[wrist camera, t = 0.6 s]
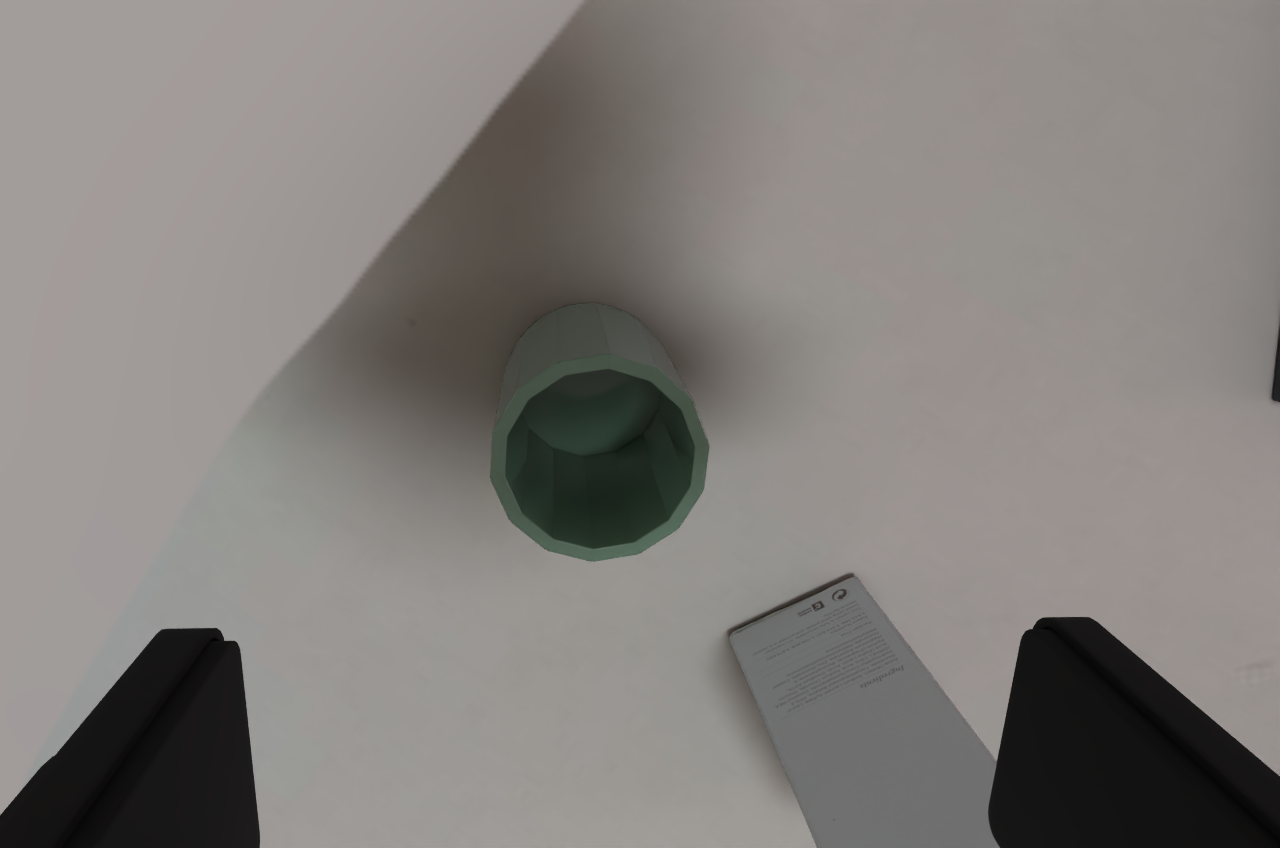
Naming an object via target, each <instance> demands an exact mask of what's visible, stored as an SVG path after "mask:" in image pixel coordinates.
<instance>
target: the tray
mask: <svg viewBox="0 0 1280 848" xmlns="http://www.w3.org/2000/svg"><path fill="white" fill-rule="evenodd" d="M1273 400H1275V401H1278V402H1280V342H1279V351H1278V359H1277V368H1276V377H1275V386H1274V395H1273Z"/></svg>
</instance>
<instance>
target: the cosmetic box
mask: <svg viewBox="0 0 1280 848" xmlns="http://www.w3.org/2000/svg"><path fill="white" fill-rule="evenodd" d="M729 639H730V642H731V645H732V647H733V649H734V652H735V654H736V656H737V659H738V661H739V663H740V666H741V668H742V670H743V673H744V675H745V678H746V680H747V682H748V685H749V687H750V689H751V691H752V694H753V696H754V698H755V701H756V703H757V705H758V707H759V710H760V712H761V715H762V717H763V720H764V722H765V725H766V727H767V730H768V732H769V735H770V737H771V740H772V742H773V744H774V747H775V749H776V751H777V754H778V756H779V759H780V761H781V763H782V766H783V768H784V770H785V773H786V775H787V777H788V780H789V782H790V784H791V787H792V789H793V791H794V794H795V796H796V798H797V801H798V803H799V806H800V808H801V810H802V813H803V815H804V817H805V820H806V822H807V825H808V827H809V829H810V832H811V834H812V837H813V839H814V841H815V844H816V846H817V848H1000V847H999V846H998V844H997V842H996V841H995V839H994V837H993V835H992V832H991V829H990V824H989V819H988V806H989V800H990V795H991V790H992V785H993V780H994V775H995V770H996V765H997V761H996V760H995V758H994V757H993V756H992V754H991V753H990V752H989V750H988V749H987V748H986V746H985V745H984V744H983V742H982V741H981V740H980V738H979V737H978V736H977V734H976V733H975V732H974V730H973V729H972V728H971V726H970V725H969V724H968V723H967V721H966V720H965V719H964V717H963V716H962V715H961V713H960V712H959V711H958V709H957V708H956V707H955V705H954V704H953V703H952V701H951V700H950V699H949V697H948V696H947V695H946V693H945V692H944V691H943V689H942V688H941V687H940V685H939V684H938V683H937V681H936V680H935V679H934V677H933V676H932V675H931V673H930V672H929V671H928V669H927V668H926V667H925V666H924V664H923V663H922V662H921V660H920V659H919V658H918V656H917V655H916V654H915V652H914V651H913V650H912V649H911V647H910V646H909V645H908V643H907V642H906V641H905V640H904V638H903V637H902V636H901V634H900V633H899V632H898V630H897V629H896V628H895V626H894V625H893V624H892V622H891V621H890V620H889V619H888V617H887V616H886V615H885V613H884V612H883V611H882V609H881V608H880V607H879V605H878V604H877V603H876V601H875V600H874V599H873V598H872V596H871V595H870V594H869V592H868V591H867V590H866V588H865V587H864V586H863V584H862V583H861V582H860V580H859V579H858V578H857V577H851V578H849V579H846V580H844V581H842V582H840V583H837V584H835V585H833V586H831V587H829V588H827V589H826V590H824V591H822V592H820V593H818V594H816V595H813V596H811V597H809V598H807V599H804V600H802V601H800V602H798V603H796V604H793V605H791V606H789V607H787V608H784V609H782V610H779V611H777V612H774V613H772V614H770V615H768V616H766V617H764V618H762V619H759V620H758V621H756V622H753V623H751V624H749V625H747V626H745V627H742V628H740V629H738V630H736V631H734V632H732V634H731V635H730V638H729Z"/></svg>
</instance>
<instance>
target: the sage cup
mask: <svg viewBox="0 0 1280 848" xmlns="http://www.w3.org/2000/svg"><path fill="white" fill-rule="evenodd" d="M708 453H709V442H708V439H707V436H706V433H705V431H704V428H703V425H702V422H701V420H700V417H699V414H698V411H697V409H696V406H695V403H694V401H693V399H692V398H691V396H690V394H689V392H688V390H687V389H686V387H685V385H684V383H683V381H682V380H681V378H680V376H679V374H678V372H677V371H676V369H675V367H674V365H673V363H672V362H671V360H670V358H669V356H668V354H667V353H666V351H665V349H664V347H663V345H662V344H661V342H660V340H659V339H658V338H657V337H656V336H655V335H654V334H653V333H652V332H651V331H650V330H649V329H648V328H647V327H646V326H645V325H644V324H643V323H642V322H641V321H639V320H638V319H637V318H635V317H634V316H632V315H631V314H629V313H627V312H625V311H623V310H621V309H618V308H615V307H612V306H609V305H603V304H597V303H581V304H574V305H569V306H565V307H562V308H559V309H556V310H554V311H552V312H550V313H548V314H546V315H544V316H543V317H542V318H540V319H539V320H537V321H536V322H535V323H534V324H533V325H531V326H530V327H529V328H528V329H527V330H526V332H524V334H523V335H522V336H521V338H520V339H519V341H518V343H517V344H516V346H515V348H514V350H513V352H512V355H511V357H510V358H509V360H508V362H507V365H506V369H505V374H504V379H503V384H502V389H501V393H500V398H499V403H498V408H497V413H496V417H495V422H494V427H493V432H492V447H491V470H490V478H491V482H492V484H493V486H494V489H495V491H496V493H497V495H498V497H499V499H500V501H501V504H502V506H503V508H504V510H505V512H506V514H507V516H508V519H509V520H510V521H511V523H513V524H514V525H515V526H516V527H518V528H519V529H520V530H521V531H523V532H524V533H525V534H526V535H528V536H529V537H530V538H531V539H533V540H534V541H535V542H536V543H538V544H539V545H540V546H541V547H543V548H544V549H547V550H548V551H551V552H555V553H559V554H563V555H567V556H571V557H575V558H579V559H583V560H587V561H593V562H594V561H600V560H606V559H613V558H619V557H625V556H631V555H637V554H638V553H639V554H640V553H642V552H643V551H645V550H646V549H648V548H649V547H651V546H653V545H654V544H656V543H657V542H659V541H660V540H662V539H664V538H665V537H667V536H668V535H670V534H671V533H673V532H674V531H676V530H677V529H678V528H679V527H680V526H681V524H682V523H683V521H684V520H685V518H686V517H687V515H688V514H689V512H690V511H691V509H692V508H693V506H694V504H695V503H696V501H697V500H698V498H699V497H700V495H701V494H702V492H703V490H704V485H705V477H706V469H707V461H708Z"/></svg>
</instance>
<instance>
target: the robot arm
mask: <svg viewBox="0 0 1280 848" xmlns="http://www.w3.org/2000/svg"><path fill="white" fill-rule="evenodd" d="M988 819H989V824H990V829H991V832H992V835H993V837H994V839H995V841H996V842H997V844H998V846H999V847H1000V848H1280V776H1279V775H1277V774H1276V773H1275V772H1274V771H1273V770H1271V769H1270V768H1269V767H1268V766H1267V765H1266V764H1264V763H1263V762H1262V761H1261V760H1260V759H1258V758H1257V757H1256V756H1255V755H1254V754H1253V753H1251V752H1250V751H1249V750H1248V749H1247V748H1245V747H1244V746H1243V745H1242V744H1241V743H1240V742H1238V741H1237V740H1236V739H1235V738H1234V737H1232V736H1231V735H1230V734H1229V733H1228V732H1227V731H1225V730H1224V729H1223V728H1222V727H1221V726H1219V725H1218V724H1217V723H1216V722H1215V721H1214V720H1212V719H1211V718H1210V717H1209V716H1208V715H1206V714H1205V713H1204V712H1203V711H1202V710H1201V709H1199V708H1198V707H1197V706H1196V705H1195V704H1193V703H1192V702H1191V701H1190V700H1189V699H1188V698H1186V697H1185V696H1184V695H1183V694H1182V693H1180V692H1179V691H1178V690H1177V689H1176V688H1175V687H1173V686H1172V685H1171V684H1170V683H1169V682H1167V681H1166V680H1165V679H1164V678H1163V677H1162V676H1160V675H1159V674H1158V673H1157V672H1156V671H1154V670H1153V669H1152V668H1151V667H1150V666H1149V665H1147V664H1146V663H1145V662H1144V661H1143V660H1141V659H1140V658H1139V657H1138V656H1137V655H1136V654H1134V653H1133V652H1132V651H1131V650H1130V649H1128V648H1127V647H1126V646H1125V645H1124V644H1123V643H1121V642H1120V641H1119V640H1118V639H1117V638H1115V637H1114V636H1113V635H1112V634H1111V633H1110V632H1108V631H1107V630H1106V629H1105V628H1104V627H1102V626H1101V625H1100V624H1099V623H1098V622H1097V621H1095V620H1093V619H1091V618H1089V617H1047V618H1042V619H1040V620H1038V621H1037V622H1036V624H1035V625H1034V627H1033V629H1029V630H1027V631H1026V632H1025V633H1024V634H1023V636H1022V639H1021V642H1020V647H1019V652H1018V657H1017V662H1016V667H1015V672H1014V677H1013V682H1012V688H1011V693H1010V698H1009V703H1008V708H1007V713H1006V718H1005V724H1004V729H1003V734H1002V739H1001V744H1000V749H999V754H998V759H997V765H996V770H995V775H994V780H993V785H992V790H991V795H990V800H989V806H988ZM259 847H260V831H259V821H258V812H257V803H256V793H255V784H254V774H253V765H252V755H251V746H250V737H249V727H248V718H247V708H246V699H245V690H244V680H243V671H242V661H241V653H240V648H239V646H238V643H237V642H235V641H224V637H223V635H222V633H221V631H220V630H219V629H217V628H189V629H162V630H161V631H160V632H158V633H157V634H156V635H155V636H154V638H153V639H152V640H151V641H150V642H149V644H148V645H147V646H146V647H145V648H144V650H143V651H142V652H141V653H140V654H139V656H138V657H137V658H136V659H135V660H134V662H133V663H132V664H131V665H130V666H129V668H128V669H127V670H126V671H125V672H124V674H123V675H122V676H121V677H120V678H119V680H118V681H117V682H116V683H115V684H114V686H113V687H112V688H111V689H110V690H109V692H108V693H107V694H106V695H105V696H104V698H103V699H102V700H101V701H100V702H99V704H98V705H97V706H96V707H95V708H94V710H93V711H92V712H91V713H90V714H89V716H88V717H87V718H86V719H85V720H84V722H83V723H82V724H81V725H80V726H79V728H78V729H77V730H76V731H75V732H74V734H73V735H72V736H71V737H70V738H69V740H68V741H67V742H66V743H65V744H64V746H63V747H62V748H61V749H60V750H59V751H58V753H57V754H56V755H55V756H53V757H52V758H51V759H49V760H48V761H47V762H46V763H45V764H44V765H43V766H42V767H41V768H40V769H39V770H38V771H37V772H36V774H35V775H34V776H33V777H32V778H31V780H30V781H29V782H28V783H27V784H26V786H25V787H24V788H23V789H22V790H21V791H20V793H19V794H18V795H17V796H16V797H15V799H14V800H13V801H12V802H11V803H10V805H9V806H8V807H7V808H6V809H5V810H4V812H3V813H2V814H1V815H0V848H259Z"/></svg>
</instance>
